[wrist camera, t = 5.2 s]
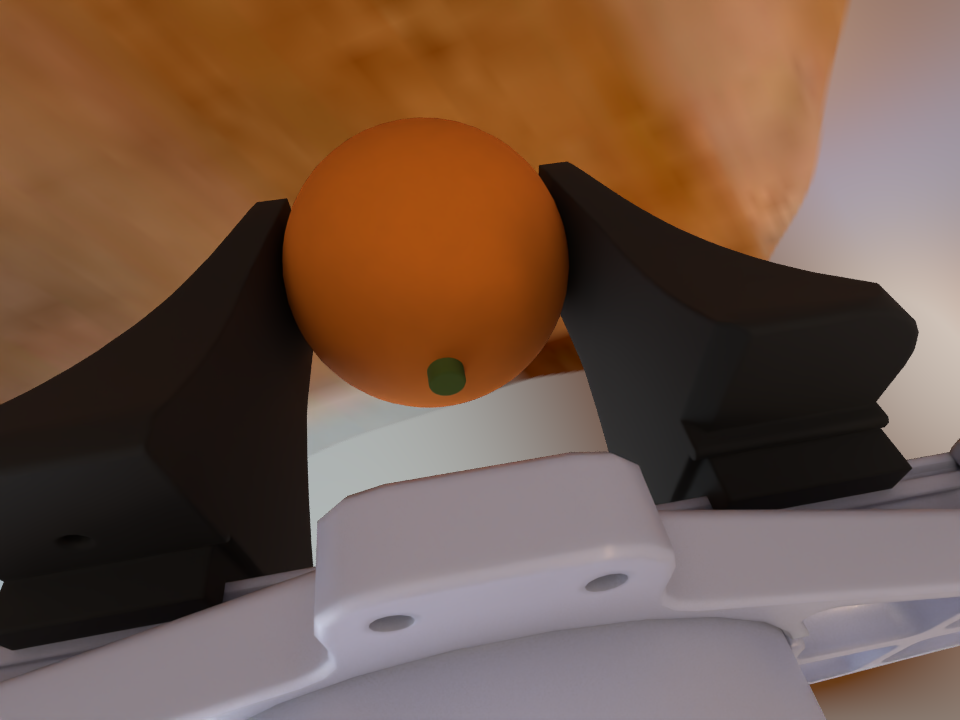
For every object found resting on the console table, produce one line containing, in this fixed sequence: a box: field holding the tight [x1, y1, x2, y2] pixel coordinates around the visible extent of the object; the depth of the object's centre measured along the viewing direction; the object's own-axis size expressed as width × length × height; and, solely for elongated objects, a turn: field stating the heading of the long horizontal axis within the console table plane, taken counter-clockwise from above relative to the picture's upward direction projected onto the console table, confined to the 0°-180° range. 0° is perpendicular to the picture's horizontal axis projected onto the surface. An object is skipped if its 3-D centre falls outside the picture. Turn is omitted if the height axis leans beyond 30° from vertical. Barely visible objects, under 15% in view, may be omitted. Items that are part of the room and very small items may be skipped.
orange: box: [282, 118, 569, 407], centre depth 11 cm, size 5×5×6 cm
